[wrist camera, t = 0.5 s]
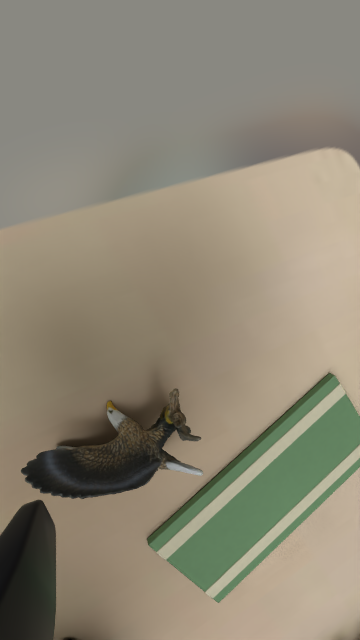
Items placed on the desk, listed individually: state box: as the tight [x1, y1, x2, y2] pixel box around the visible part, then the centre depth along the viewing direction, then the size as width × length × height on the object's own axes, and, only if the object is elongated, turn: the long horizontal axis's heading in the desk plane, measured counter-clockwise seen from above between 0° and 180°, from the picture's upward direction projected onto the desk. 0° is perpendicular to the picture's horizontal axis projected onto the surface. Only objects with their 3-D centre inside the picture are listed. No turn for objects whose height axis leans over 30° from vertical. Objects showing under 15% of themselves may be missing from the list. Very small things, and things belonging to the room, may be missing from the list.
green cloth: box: [147, 373, 360, 603], centre depth 26 cm, size 20×10×1 cm, turn 128°
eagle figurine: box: [21, 389, 203, 499], centre depth 19 cm, size 8×7×9 cm
